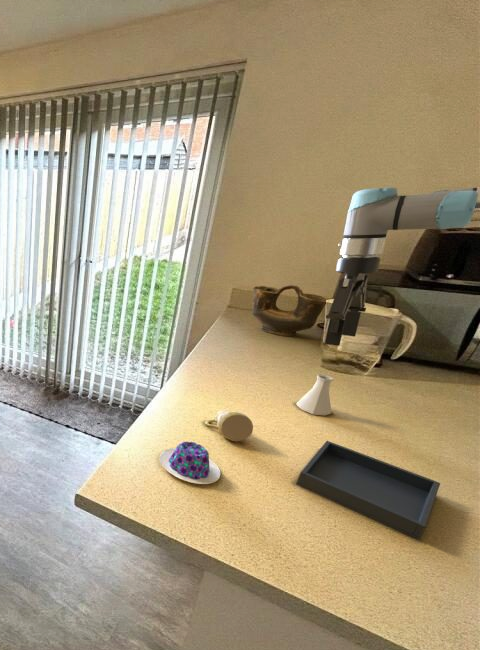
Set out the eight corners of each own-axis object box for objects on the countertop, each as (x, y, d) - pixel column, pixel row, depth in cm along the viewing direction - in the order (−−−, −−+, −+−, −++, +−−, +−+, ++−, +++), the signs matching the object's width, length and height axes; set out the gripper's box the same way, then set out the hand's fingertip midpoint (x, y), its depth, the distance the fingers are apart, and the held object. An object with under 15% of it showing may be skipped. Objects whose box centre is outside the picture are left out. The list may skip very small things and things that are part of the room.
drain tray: (433, 495, 78) (440, 482, 77) (417, 540, 69) (425, 526, 67) (321, 452, 91) (326, 440, 90) (295, 484, 82) (300, 472, 81)
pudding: (169, 484, 83) (173, 464, 81) (152, 449, 94) (156, 430, 91) (230, 489, 81) (236, 468, 79) (205, 452, 92) (211, 434, 90)
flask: (289, 403, 111) (301, 371, 107) (313, 401, 112) (325, 370, 108) (312, 417, 105) (324, 384, 101) (337, 415, 105) (351, 382, 101)
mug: (233, 421, 104) (257, 403, 96) (233, 453, 98) (259, 437, 90) (204, 411, 105) (225, 392, 97) (203, 442, 100) (226, 425, 92)
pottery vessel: (238, 327, 168) (250, 281, 160) (248, 321, 174) (260, 277, 167) (311, 343, 150) (329, 293, 142) (319, 337, 156) (336, 288, 148)
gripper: (353, 253, 105) (336, 329, 111) (322, 259, 92) (305, 345, 98) (393, 253, 99) (373, 334, 105) (366, 259, 86) (345, 352, 92)
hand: (340, 340), depth 102 cm, fingers open, 13 cm apart
